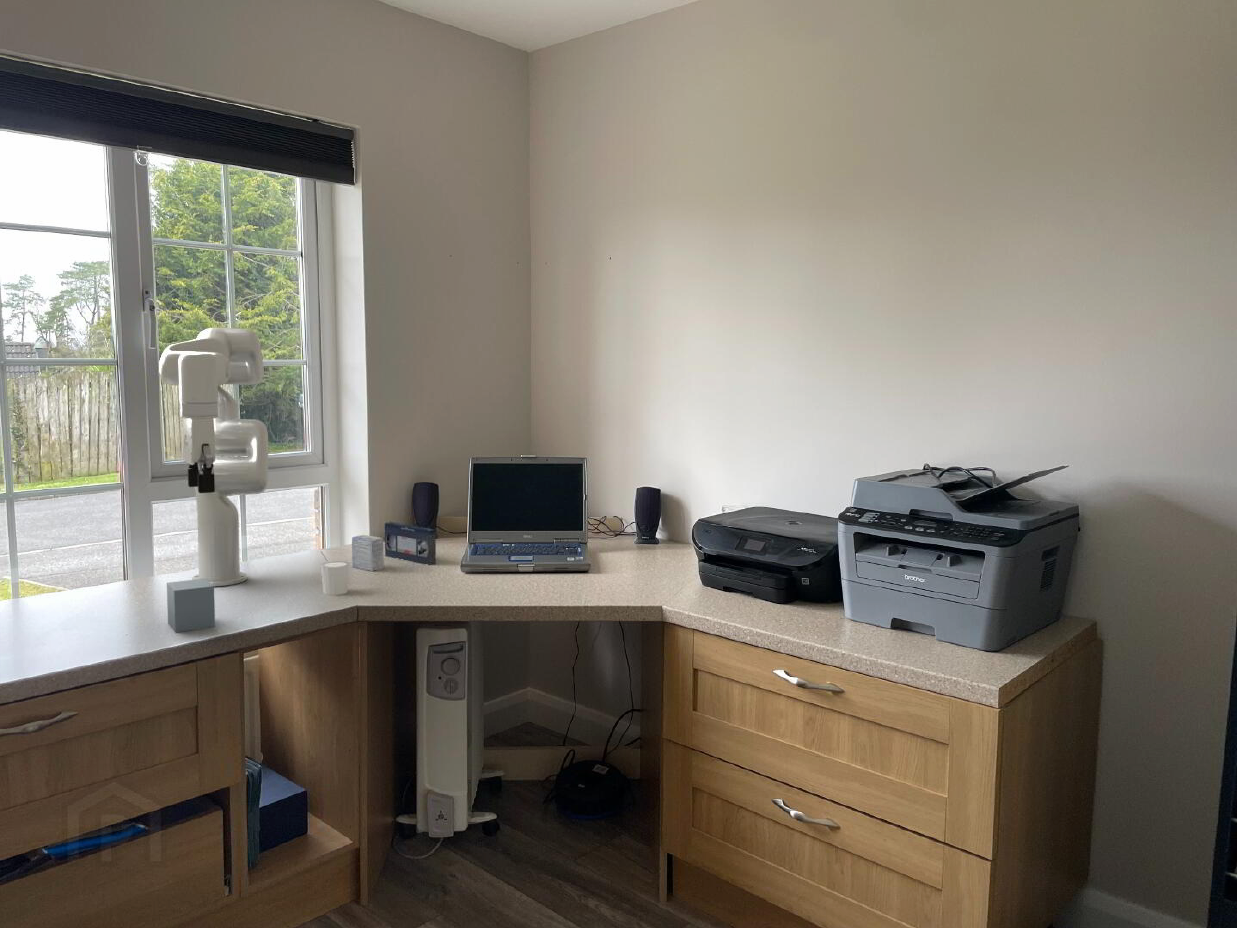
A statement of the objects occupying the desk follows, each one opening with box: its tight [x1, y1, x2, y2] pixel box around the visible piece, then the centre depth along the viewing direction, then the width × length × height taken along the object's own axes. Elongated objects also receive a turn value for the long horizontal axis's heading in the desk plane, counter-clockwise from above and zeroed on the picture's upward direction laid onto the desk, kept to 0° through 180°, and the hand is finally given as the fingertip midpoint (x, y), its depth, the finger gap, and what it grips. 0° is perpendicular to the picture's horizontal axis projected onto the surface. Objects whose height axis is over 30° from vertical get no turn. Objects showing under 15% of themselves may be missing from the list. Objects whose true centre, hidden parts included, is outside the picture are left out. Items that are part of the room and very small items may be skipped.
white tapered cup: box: [320, 561, 351, 596], centre depth 221 cm, size 7×7×7 cm
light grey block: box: [351, 534, 385, 572], centre depth 246 cm, size 8×4×9 cm, turn 58°
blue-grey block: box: [166, 578, 216, 633], centre depth 191 cm, size 8×8×9 cm
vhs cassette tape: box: [384, 521, 437, 566], centre depth 258 cm, size 18×3×10 cm, turn 55°
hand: (201, 489), depth 196 cm, fingers open, 9 cm apart
